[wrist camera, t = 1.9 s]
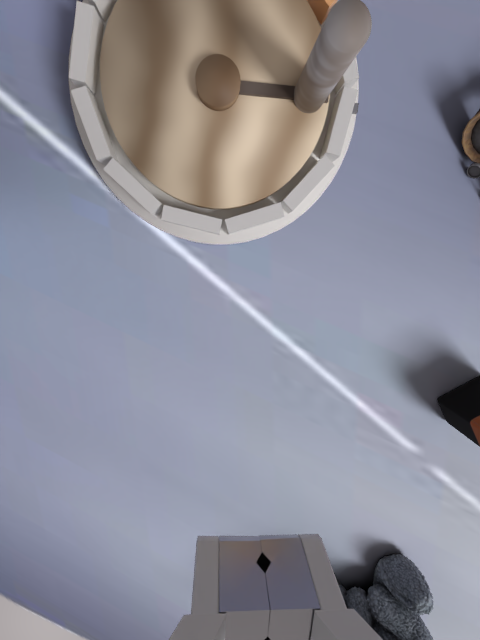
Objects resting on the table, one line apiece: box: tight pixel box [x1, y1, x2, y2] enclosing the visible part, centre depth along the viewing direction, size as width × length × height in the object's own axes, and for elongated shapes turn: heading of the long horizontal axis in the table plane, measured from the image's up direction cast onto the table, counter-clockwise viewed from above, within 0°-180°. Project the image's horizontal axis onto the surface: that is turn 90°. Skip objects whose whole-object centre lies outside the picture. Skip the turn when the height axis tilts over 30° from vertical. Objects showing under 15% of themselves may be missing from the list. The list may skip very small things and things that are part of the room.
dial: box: [100, 0, 372, 210], centre depth 24 cm, size 21×21×10 cm
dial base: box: [69, 0, 359, 245], centre depth 29 cm, size 28×28×4 cm
